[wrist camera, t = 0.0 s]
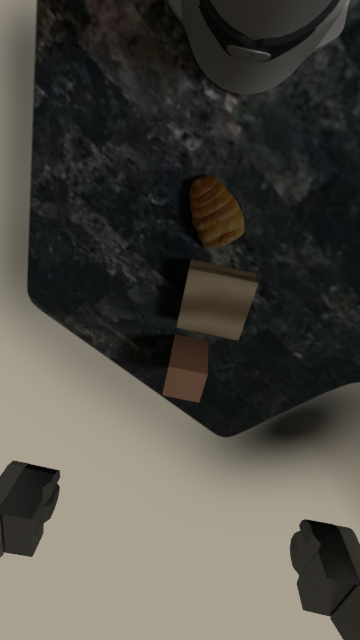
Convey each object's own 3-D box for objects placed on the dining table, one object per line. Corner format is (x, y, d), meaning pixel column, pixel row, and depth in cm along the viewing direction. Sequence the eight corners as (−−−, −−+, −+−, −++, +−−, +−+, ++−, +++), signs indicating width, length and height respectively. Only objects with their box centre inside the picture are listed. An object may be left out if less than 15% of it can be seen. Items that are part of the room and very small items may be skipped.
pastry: (177, 188, 41) (175, 192, 38) (223, 164, 39) (224, 165, 36) (205, 249, 45) (205, 257, 42) (248, 230, 43) (252, 236, 40)
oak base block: (191, 259, 46) (189, 268, 42) (254, 273, 46) (258, 283, 43) (179, 315, 51) (176, 327, 48) (236, 327, 51) (238, 340, 48)
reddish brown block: (174, 334, 53) (168, 366, 45) (208, 341, 53) (207, 374, 45) (169, 360, 56) (162, 395, 48) (200, 367, 56) (199, 402, 48)
